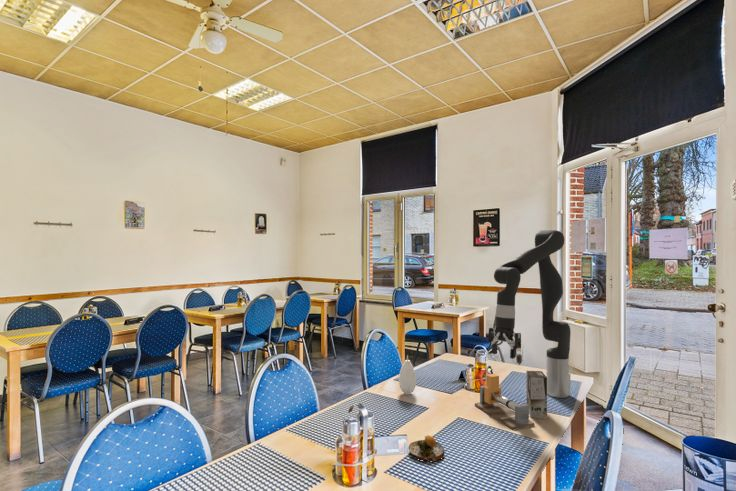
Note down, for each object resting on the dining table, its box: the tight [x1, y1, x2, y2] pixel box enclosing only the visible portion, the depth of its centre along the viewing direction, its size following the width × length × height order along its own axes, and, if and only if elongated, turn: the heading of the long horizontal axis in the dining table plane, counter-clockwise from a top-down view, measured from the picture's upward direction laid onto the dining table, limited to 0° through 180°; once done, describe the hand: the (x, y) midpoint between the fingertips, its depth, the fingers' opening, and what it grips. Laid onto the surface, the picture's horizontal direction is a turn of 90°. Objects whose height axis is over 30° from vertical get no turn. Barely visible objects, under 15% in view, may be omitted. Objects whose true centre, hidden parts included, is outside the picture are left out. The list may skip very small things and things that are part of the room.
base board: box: [474, 402, 535, 431], centre depth 164 cm, size 24×10×1 cm, turn 20°
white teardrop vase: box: [398, 354, 417, 396], centre depth 187 cm, size 8×8×18 cm
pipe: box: [479, 385, 530, 426], centre depth 164 cm, size 24×5×7 cm, turn 20°
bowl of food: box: [408, 434, 445, 462], centre depth 134 cm, size 12×12×8 cm
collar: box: [484, 373, 502, 404], centre depth 170 cm, size 3×6×11 cm, turn 110°
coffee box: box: [525, 370, 548, 419], centre depth 166 cm, size 9×6×16 cm
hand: (503, 356), depth 166 cm, fingers open, 8 cm apart
